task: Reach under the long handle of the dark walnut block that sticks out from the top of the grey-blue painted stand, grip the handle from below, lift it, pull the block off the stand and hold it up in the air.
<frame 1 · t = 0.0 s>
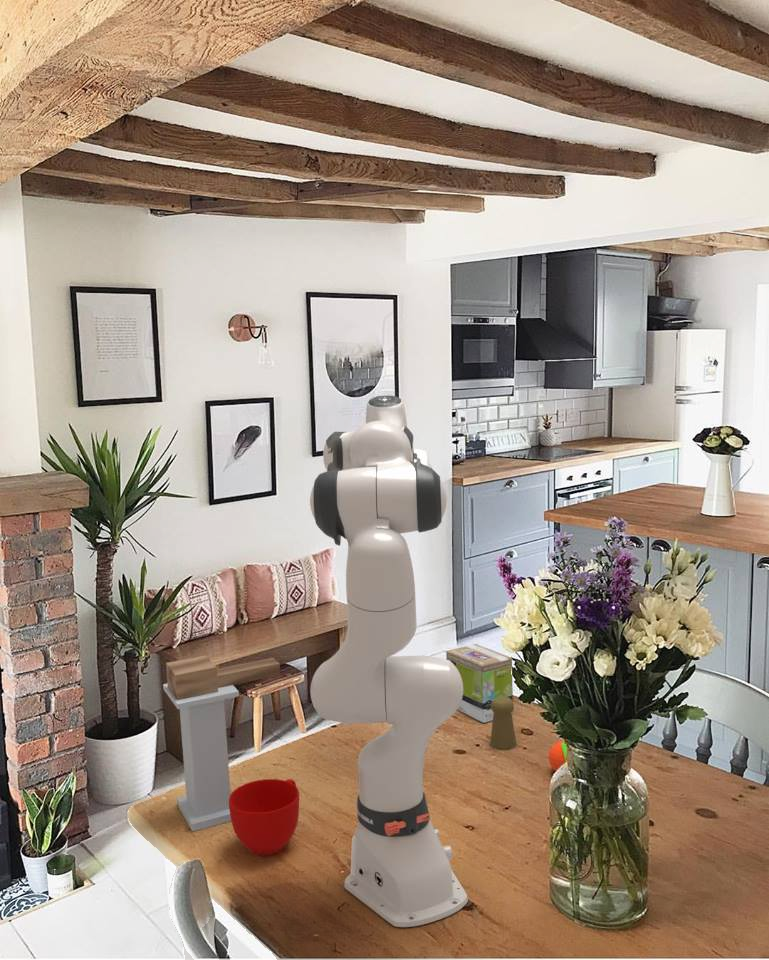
hand: (391, 510, 204), 54 cm above the table, tool tilted 30°, fingers open, 8 cm apart
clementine: (565, 775, 190), on the table
tea box: (479, 710, 225), on the table
handled block: (192, 689, 176), point 26 cm above the table, touching painted stand
ceramic cup: (272, 841, 168), on the table
painted stand: (209, 811, 180), on the table
brown pawn: (503, 745, 205), on the table
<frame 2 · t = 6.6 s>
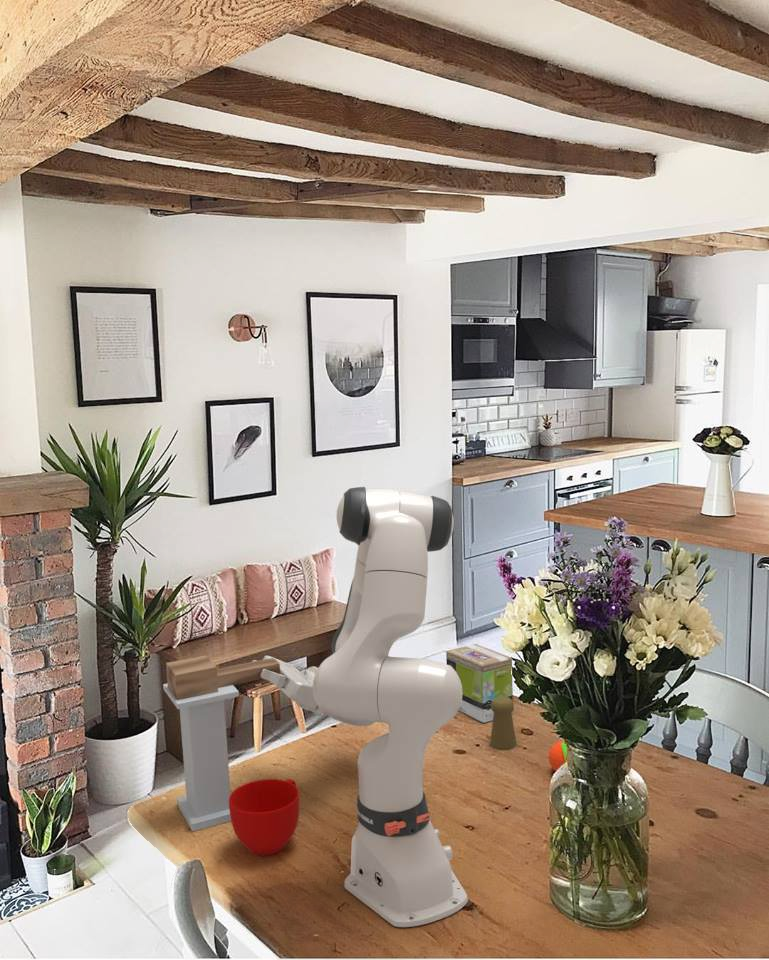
hand: (256, 668, 181), 28 cm above the table, tool pointing upward, fingers closed on handled block, 4 cm apart
handled block: (192, 689, 176), point 26 cm above the table, touching gripper, painted stand
everything else where it was.
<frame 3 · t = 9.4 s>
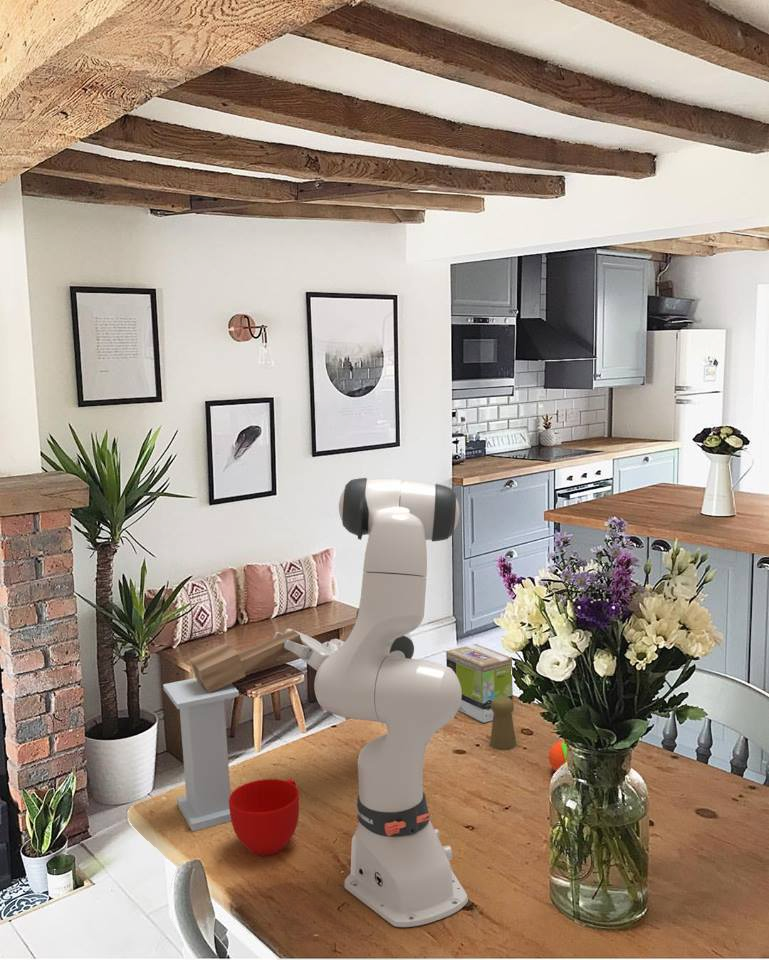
hand: (280, 639, 183), 33 cm above the table, tool pointing upward, fingers closed on handled block, 4 cm apart
handled block: (221, 678, 178), point 27 cm above the table, tilted 14°, touching gripper
everything else where it was.
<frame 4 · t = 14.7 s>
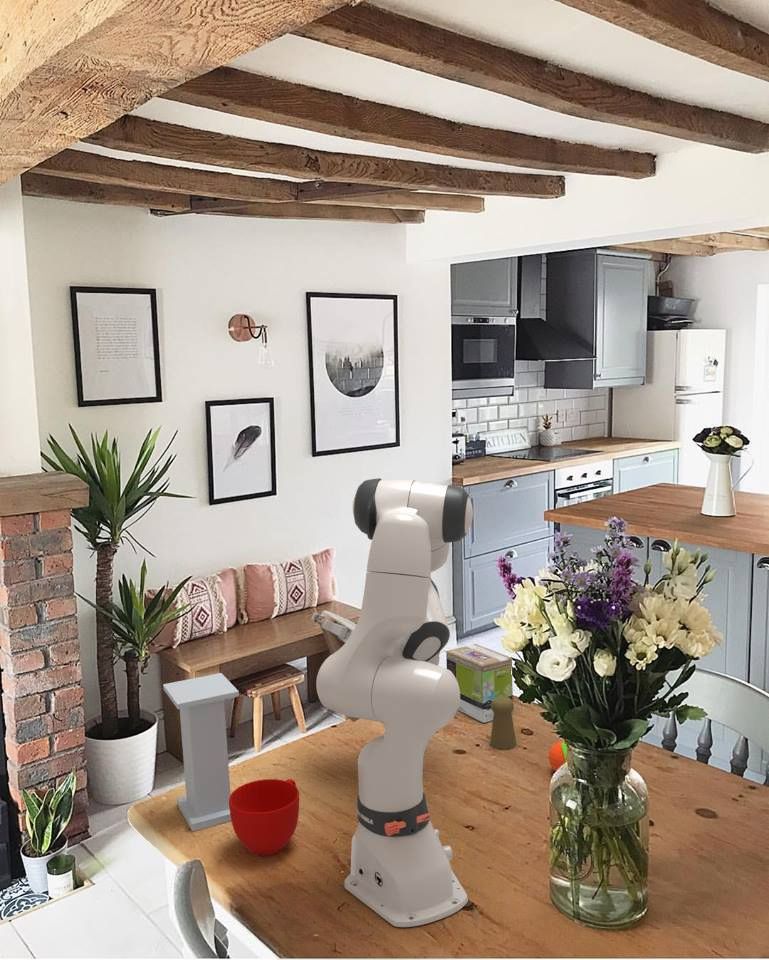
hand: (318, 620, 186), 35 cm above the table, tool pointing upward, fingers closed on handled block, 4 cm apart
handled block: (359, 688, 192), point 19 cm above the table, tilted 108°, touching gripper
everything else where it was.
at the end: the gripper is holding handled block; handled block touching gripper; handled block point 18.7 cm above the table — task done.
